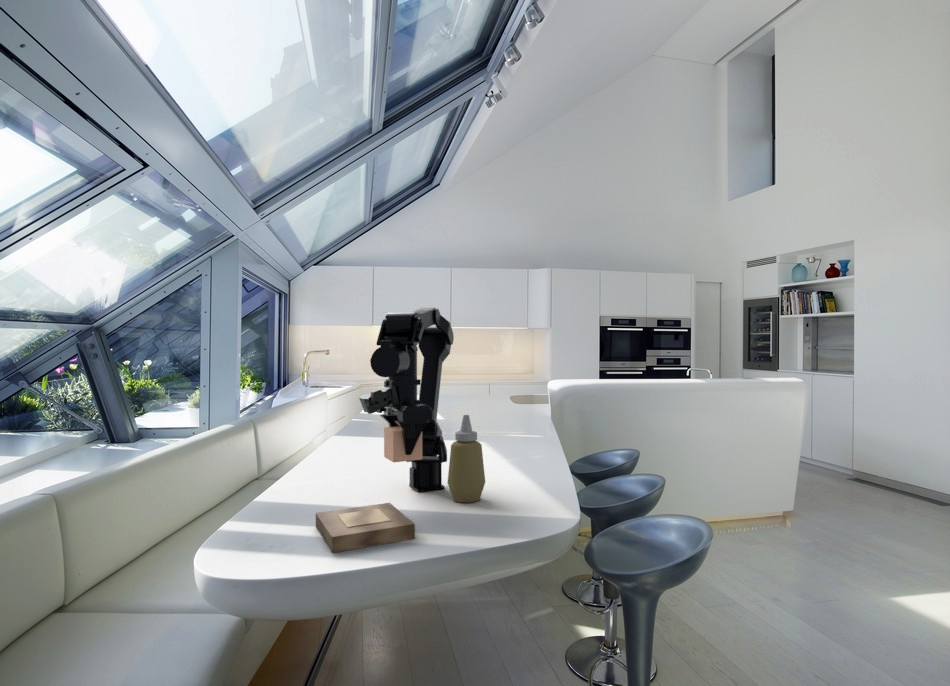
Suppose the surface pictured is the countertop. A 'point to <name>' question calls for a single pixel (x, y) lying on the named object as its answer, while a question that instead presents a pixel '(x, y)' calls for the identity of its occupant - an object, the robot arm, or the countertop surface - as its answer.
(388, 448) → the cube
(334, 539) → the base board
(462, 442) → the squeeze bottle
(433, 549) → the countertop surface
